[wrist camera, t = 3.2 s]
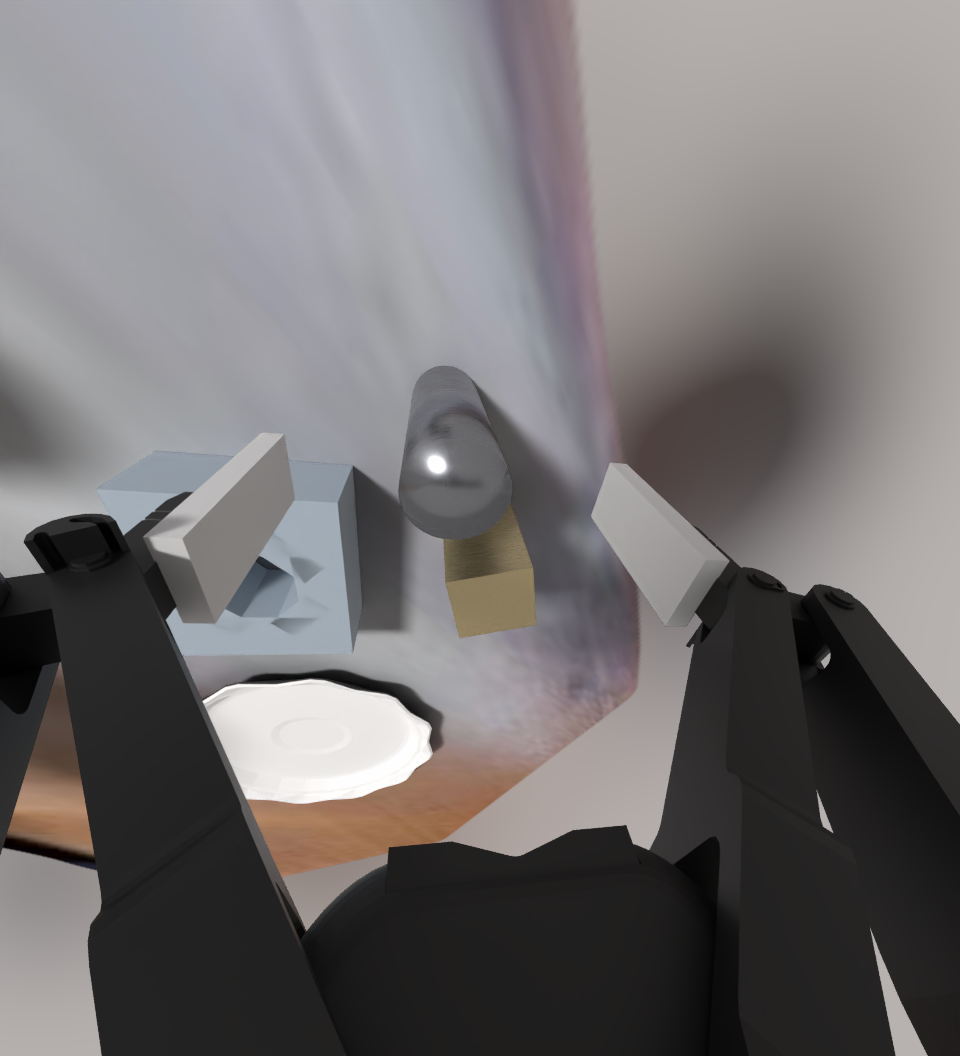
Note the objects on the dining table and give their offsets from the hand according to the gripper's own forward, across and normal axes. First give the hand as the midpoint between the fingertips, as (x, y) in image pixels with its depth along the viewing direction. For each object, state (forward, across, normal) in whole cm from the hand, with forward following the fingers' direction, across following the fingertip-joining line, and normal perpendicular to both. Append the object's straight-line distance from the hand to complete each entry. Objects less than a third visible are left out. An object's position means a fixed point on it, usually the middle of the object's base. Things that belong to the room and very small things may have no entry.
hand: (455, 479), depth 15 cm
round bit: (+10, 0, 0) cm, 10 cm away
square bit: (+10, +3, -8) cm, 13 cm away
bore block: (+10, -12, -12) cm, 20 cm away
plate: (+11, -13, -42) cm, 45 cm away
